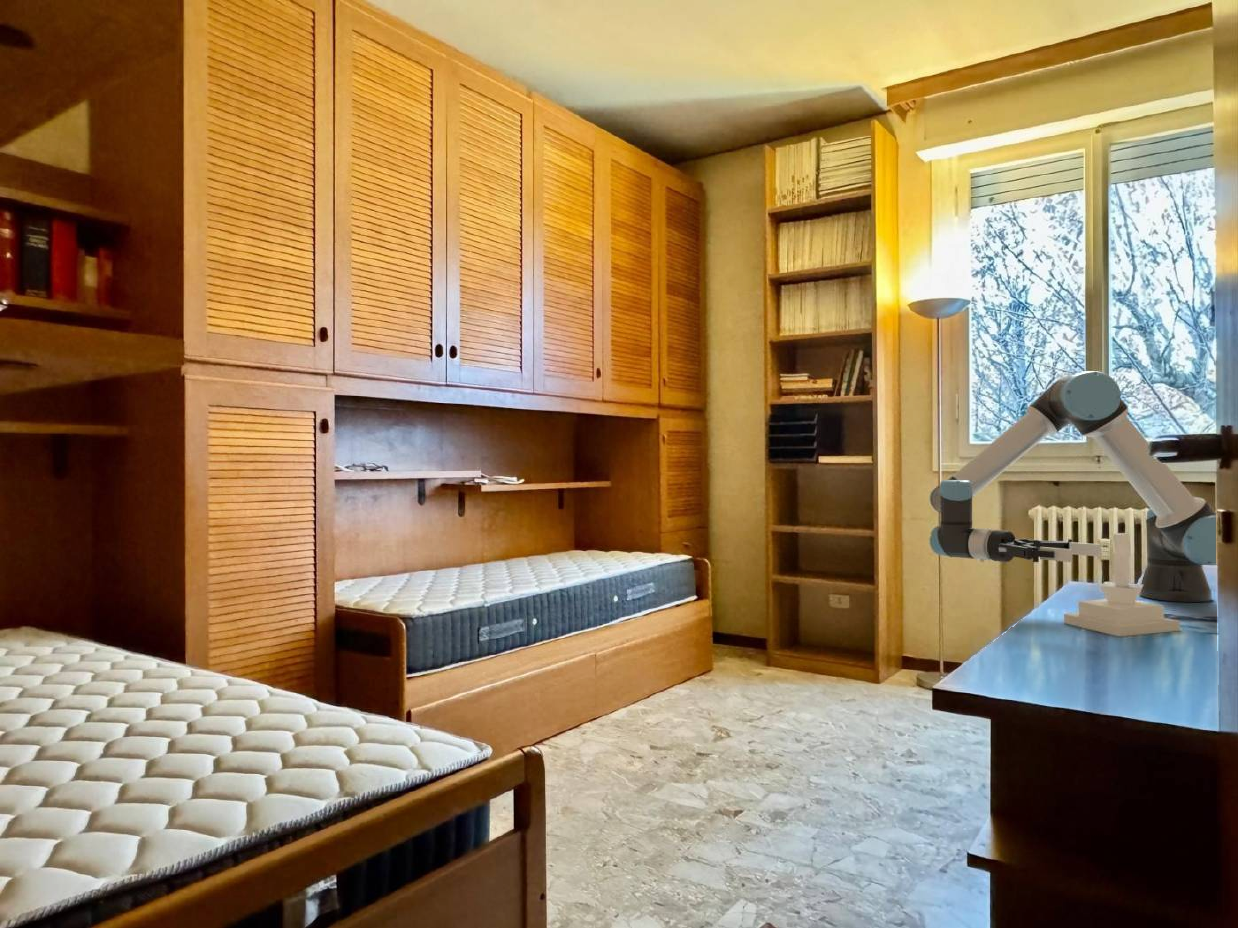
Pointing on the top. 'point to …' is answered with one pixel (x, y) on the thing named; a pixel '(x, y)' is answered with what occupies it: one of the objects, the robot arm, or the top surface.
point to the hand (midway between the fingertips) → (1086, 553)
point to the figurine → (1121, 574)
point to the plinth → (1122, 618)
